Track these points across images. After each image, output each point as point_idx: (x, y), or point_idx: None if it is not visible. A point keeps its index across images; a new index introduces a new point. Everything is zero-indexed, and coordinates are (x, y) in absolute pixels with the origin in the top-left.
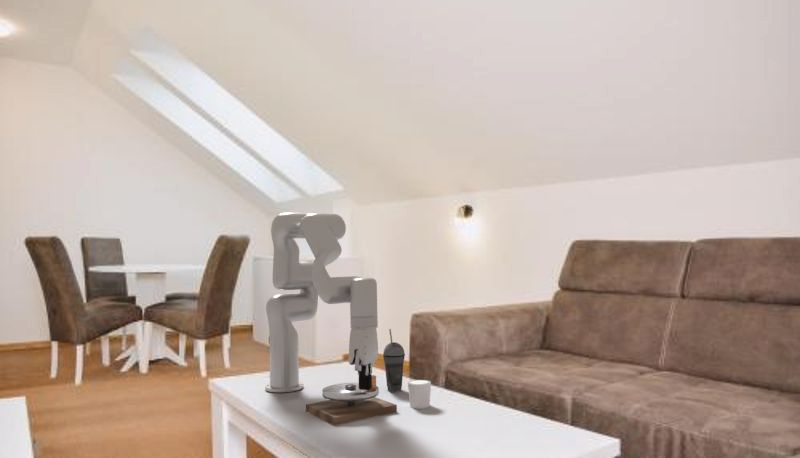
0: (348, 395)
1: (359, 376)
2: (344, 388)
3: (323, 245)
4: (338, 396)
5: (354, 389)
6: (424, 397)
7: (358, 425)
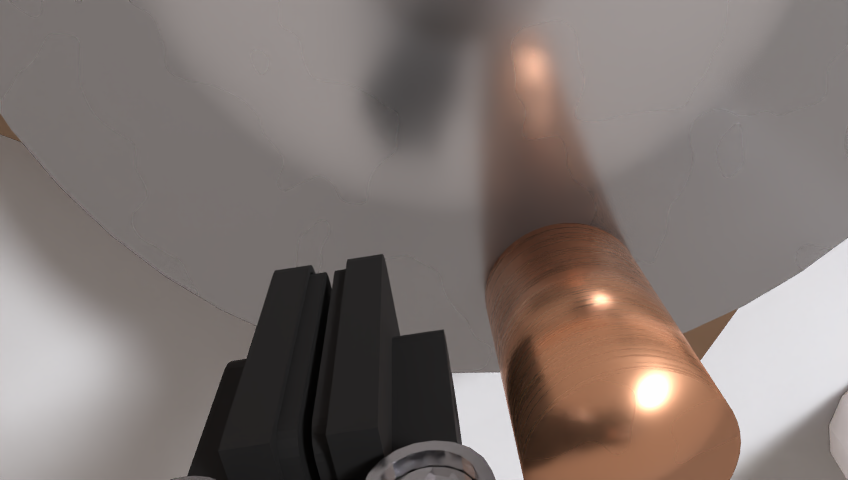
0: (75, 145)
1: (231, 441)
2: None
3: None
4: None
5: None
6: None
7: (84, 268)
